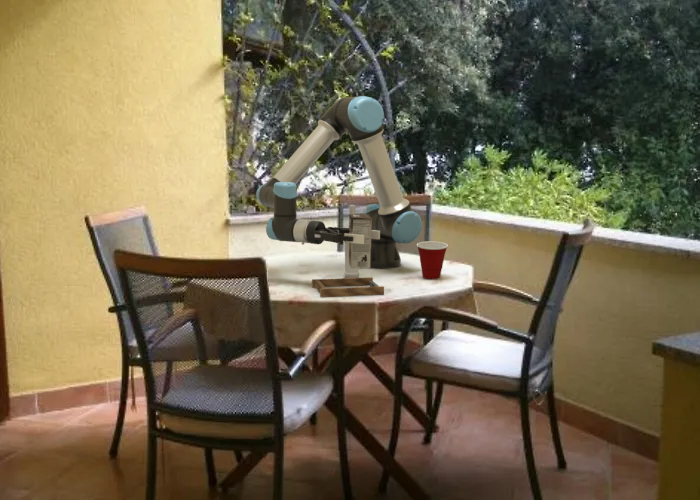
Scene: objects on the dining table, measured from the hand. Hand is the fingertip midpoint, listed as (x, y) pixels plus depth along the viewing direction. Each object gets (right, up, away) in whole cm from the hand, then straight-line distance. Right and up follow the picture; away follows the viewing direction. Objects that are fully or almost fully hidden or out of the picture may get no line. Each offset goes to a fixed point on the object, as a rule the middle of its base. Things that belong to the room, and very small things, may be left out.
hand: (371, 237), depth 249 cm
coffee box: (-4, -9, +3) cm, 11 cm away
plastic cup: (+21, -14, +25) cm, 36 cm away
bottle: (-6, -14, +24) cm, 29 cm away
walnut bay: (-8, -17, +4) cm, 19 cm away
